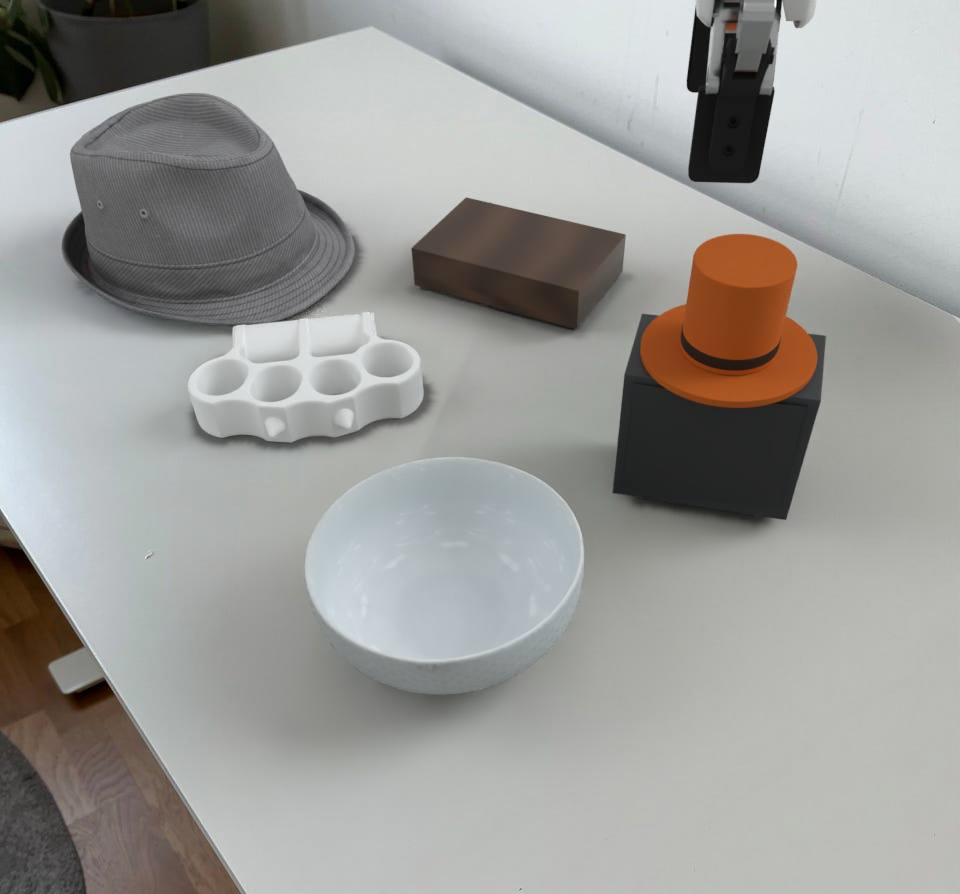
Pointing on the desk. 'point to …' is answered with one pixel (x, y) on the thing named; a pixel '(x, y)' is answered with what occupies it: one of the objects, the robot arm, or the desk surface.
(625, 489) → the dark grey cabinet box
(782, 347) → the top hat
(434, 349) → the desk surface
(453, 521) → the cereal bowl
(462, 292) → the brown wooden block
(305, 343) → the white brass knuckles
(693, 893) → the desk surface
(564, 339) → the desk surface
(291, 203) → the fedora
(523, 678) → the desk surface
